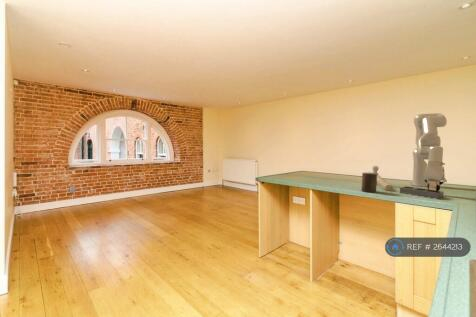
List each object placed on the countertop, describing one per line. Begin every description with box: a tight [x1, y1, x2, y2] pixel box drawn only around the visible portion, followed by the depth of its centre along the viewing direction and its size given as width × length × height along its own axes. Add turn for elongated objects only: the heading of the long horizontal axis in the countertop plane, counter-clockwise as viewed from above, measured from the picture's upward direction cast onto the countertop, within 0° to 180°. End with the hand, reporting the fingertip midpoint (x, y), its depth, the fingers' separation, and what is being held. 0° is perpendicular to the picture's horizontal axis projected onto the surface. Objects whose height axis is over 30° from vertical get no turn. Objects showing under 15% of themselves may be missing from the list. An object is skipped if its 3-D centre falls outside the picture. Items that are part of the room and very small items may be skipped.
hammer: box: [371, 165, 392, 192], centre depth 188 cm, size 16×5×30 cm
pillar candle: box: [361, 171, 378, 194], centre depth 172 cm, size 10×10×15 cm
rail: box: [399, 185, 445, 200], centre depth 160 cm, size 9×22×4 cm, turn 32°
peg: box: [429, 180, 437, 190], centre depth 161 cm, size 4×4×10 cm
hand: (433, 189), depth 161 cm, fingers closed on peg, 3 cm apart
